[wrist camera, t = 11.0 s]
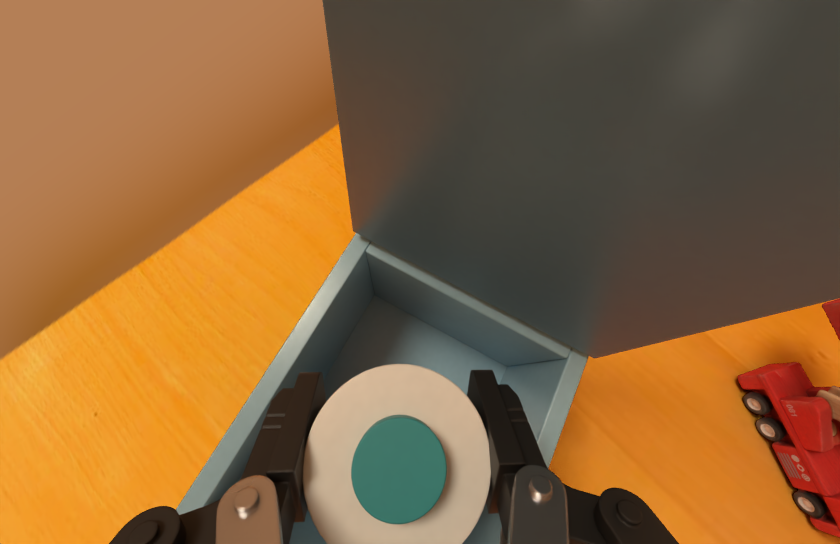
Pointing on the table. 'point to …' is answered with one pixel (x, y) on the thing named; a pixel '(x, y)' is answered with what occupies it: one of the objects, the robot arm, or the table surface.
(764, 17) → the lid
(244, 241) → the table surface
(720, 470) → the table surface
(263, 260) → the table surface
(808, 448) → the toy fire truck
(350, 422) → the detergent bottle
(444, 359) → the washer
